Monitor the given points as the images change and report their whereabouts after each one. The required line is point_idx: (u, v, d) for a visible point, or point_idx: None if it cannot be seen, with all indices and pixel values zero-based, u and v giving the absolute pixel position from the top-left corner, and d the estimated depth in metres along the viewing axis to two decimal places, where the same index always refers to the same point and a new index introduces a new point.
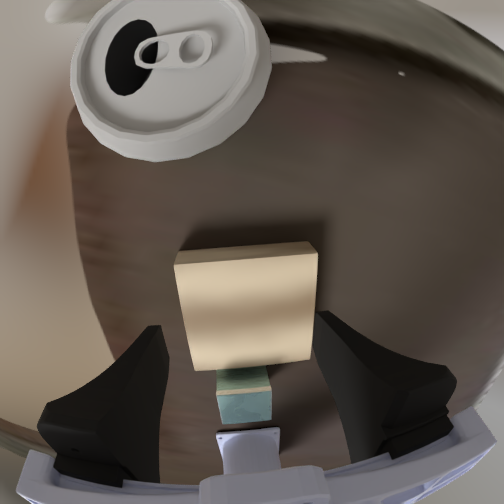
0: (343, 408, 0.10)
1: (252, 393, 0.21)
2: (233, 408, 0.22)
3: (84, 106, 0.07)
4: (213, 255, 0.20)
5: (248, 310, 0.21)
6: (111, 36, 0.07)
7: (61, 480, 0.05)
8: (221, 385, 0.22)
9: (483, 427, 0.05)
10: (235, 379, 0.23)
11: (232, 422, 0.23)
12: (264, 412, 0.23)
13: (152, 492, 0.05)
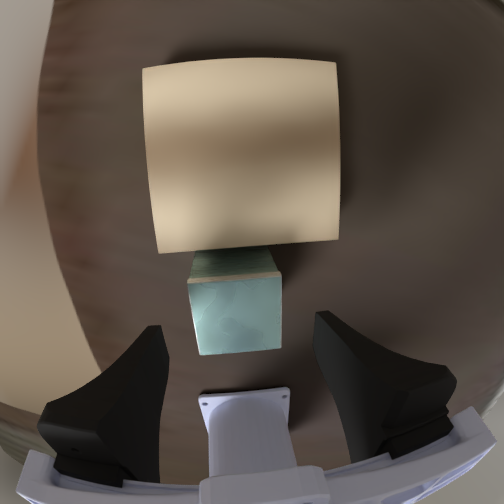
0: (343, 408, 0.10)
1: (248, 281, 0.14)
2: (216, 316, 0.14)
3: None
4: None
5: (242, 133, 0.13)
6: None
7: (61, 480, 0.05)
8: (197, 273, 0.14)
9: (483, 427, 0.05)
10: (222, 266, 0.15)
11: (216, 351, 0.15)
12: (269, 331, 0.15)
13: (152, 492, 0.05)
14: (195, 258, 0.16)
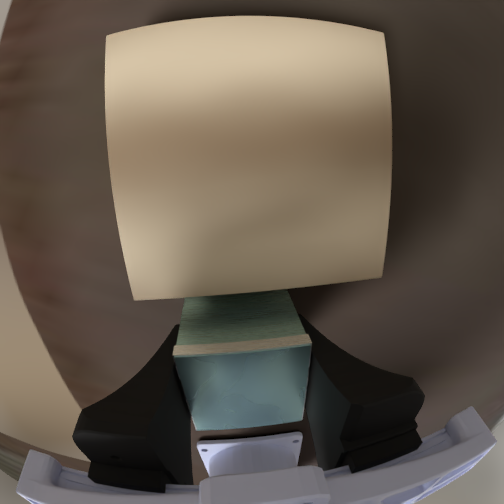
0: (311, 415, 0.10)
1: (264, 352, 0.09)
2: (217, 393, 0.09)
3: None
4: None
5: (253, 125, 0.09)
6: None
7: (61, 480, 0.05)
8: (188, 334, 0.10)
9: (483, 427, 0.05)
10: (223, 322, 0.10)
11: (217, 427, 0.10)
12: (288, 405, 0.10)
13: (152, 492, 0.05)
14: (186, 305, 0.12)
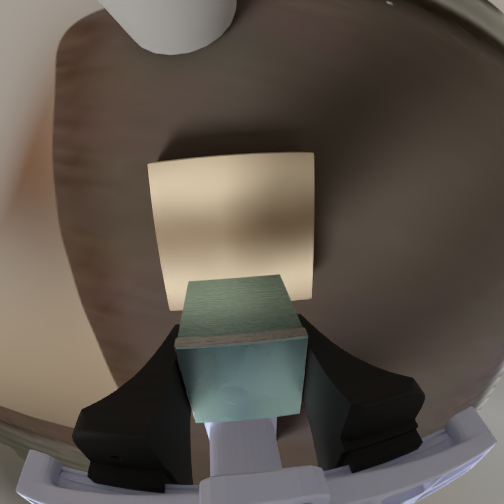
0: (311, 415, 0.10)
1: (262, 344, 0.09)
2: (216, 385, 0.10)
3: None
4: None
5: (233, 222, 0.18)
6: None
7: (61, 480, 0.05)
8: (189, 327, 0.10)
9: (483, 427, 0.05)
10: (223, 316, 0.11)
11: (216, 419, 0.11)
12: (286, 397, 0.10)
13: (152, 492, 0.05)
14: (186, 300, 0.12)
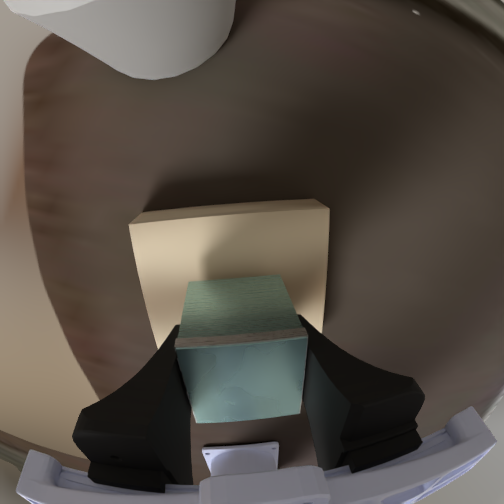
0: (311, 415, 0.10)
1: (262, 344, 0.09)
2: (216, 385, 0.10)
3: None
4: (184, 213, 0.14)
5: None
6: None
7: (61, 480, 0.05)
8: (189, 328, 0.10)
9: (483, 427, 0.05)
10: (223, 316, 0.11)
11: (217, 419, 0.11)
12: (286, 397, 0.10)
13: (152, 492, 0.05)
14: (187, 300, 0.12)
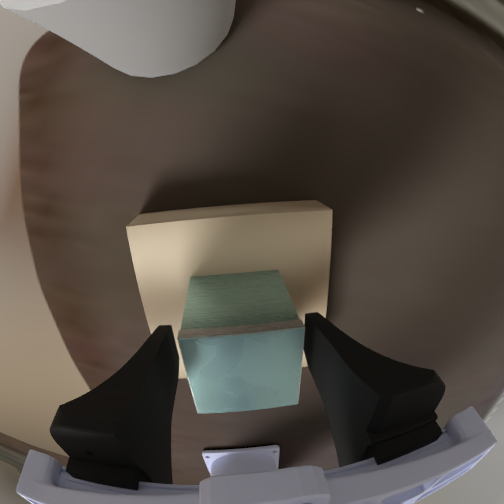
0: (331, 411, 0.10)
1: (261, 335, 0.10)
2: (217, 375, 0.10)
3: None
4: (183, 215, 0.14)
5: None
6: None
7: (61, 480, 0.05)
8: (191, 320, 0.11)
9: (483, 427, 0.05)
10: (223, 309, 0.11)
11: (217, 410, 0.11)
12: (284, 388, 0.11)
13: (152, 492, 0.05)
14: (189, 294, 0.12)
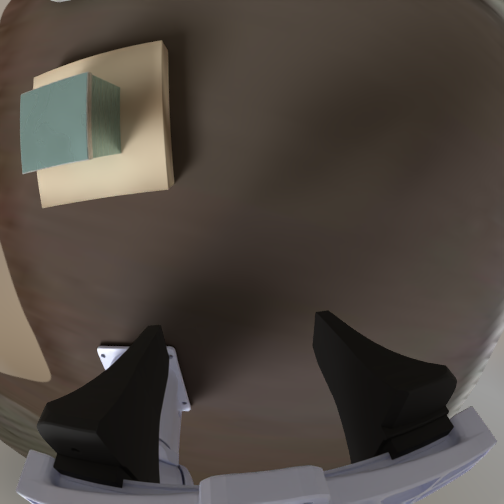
0: (343, 408, 0.10)
1: (61, 81, 0.10)
2: (35, 123, 0.10)
3: None
4: None
5: None
6: None
7: (61, 480, 0.05)
8: None
9: (483, 427, 0.05)
10: None
11: (33, 166, 0.11)
12: (76, 136, 0.11)
13: (152, 492, 0.05)
14: None
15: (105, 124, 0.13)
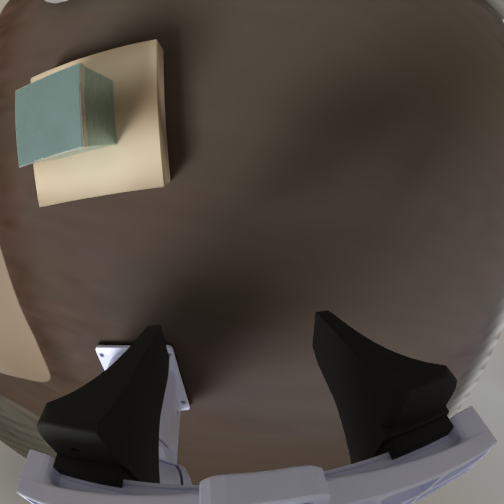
0: (343, 408, 0.10)
1: (54, 74, 0.09)
2: (30, 117, 0.10)
3: None
4: None
5: None
6: None
7: (61, 480, 0.05)
8: None
9: (483, 427, 0.05)
10: None
11: (29, 159, 0.11)
12: (70, 125, 0.11)
13: (152, 492, 0.05)
14: None
15: (99, 114, 0.13)
